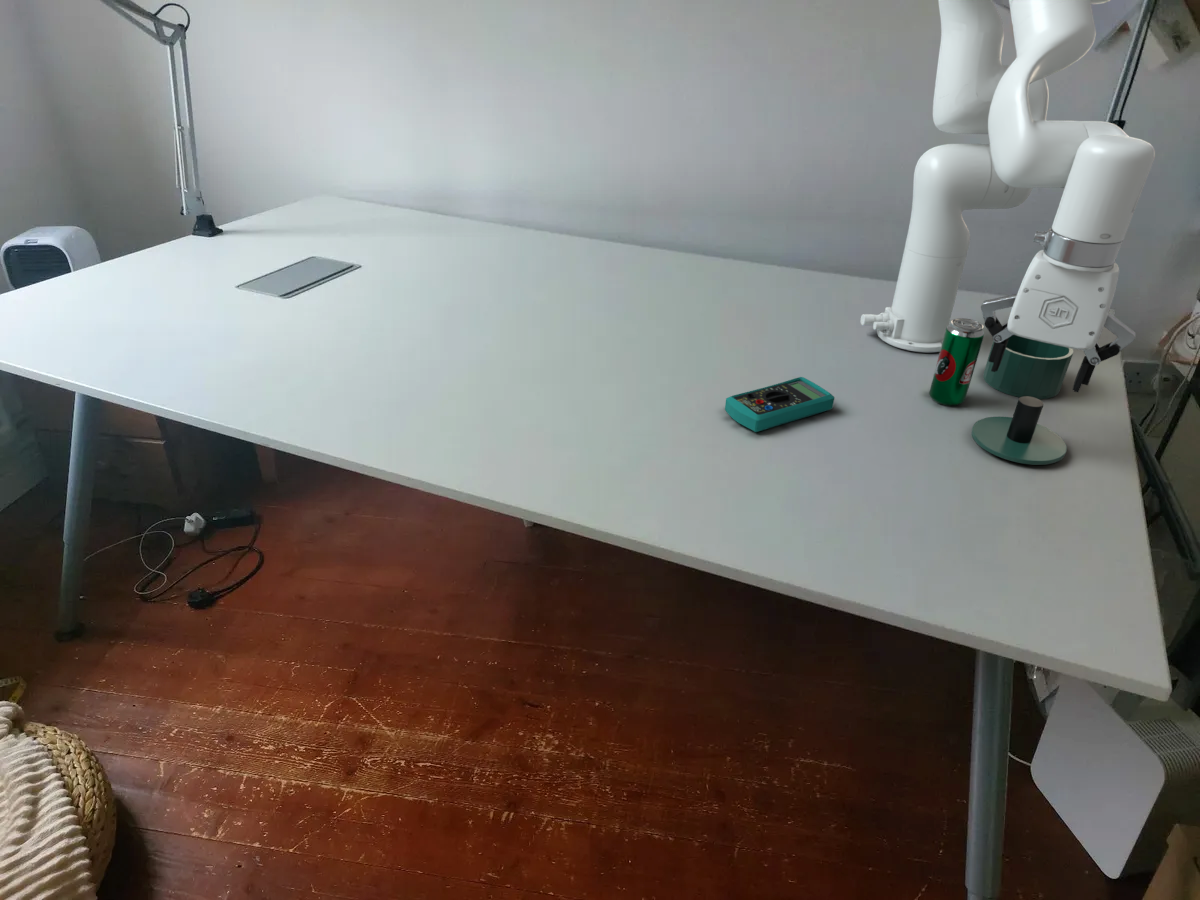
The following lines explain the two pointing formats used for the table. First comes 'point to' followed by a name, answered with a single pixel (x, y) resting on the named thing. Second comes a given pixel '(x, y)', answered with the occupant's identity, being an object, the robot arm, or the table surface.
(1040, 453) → the lid
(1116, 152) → the robot arm
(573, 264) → the table surface
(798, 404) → the digital multimeter
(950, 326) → the soda can
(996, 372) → the green round container
